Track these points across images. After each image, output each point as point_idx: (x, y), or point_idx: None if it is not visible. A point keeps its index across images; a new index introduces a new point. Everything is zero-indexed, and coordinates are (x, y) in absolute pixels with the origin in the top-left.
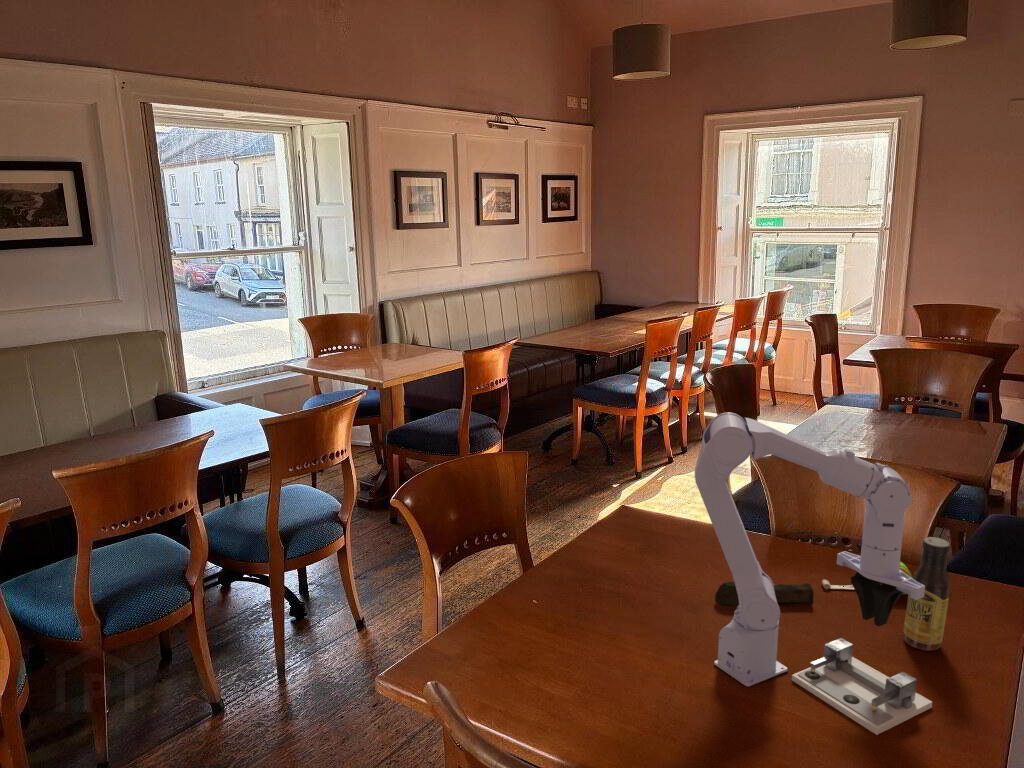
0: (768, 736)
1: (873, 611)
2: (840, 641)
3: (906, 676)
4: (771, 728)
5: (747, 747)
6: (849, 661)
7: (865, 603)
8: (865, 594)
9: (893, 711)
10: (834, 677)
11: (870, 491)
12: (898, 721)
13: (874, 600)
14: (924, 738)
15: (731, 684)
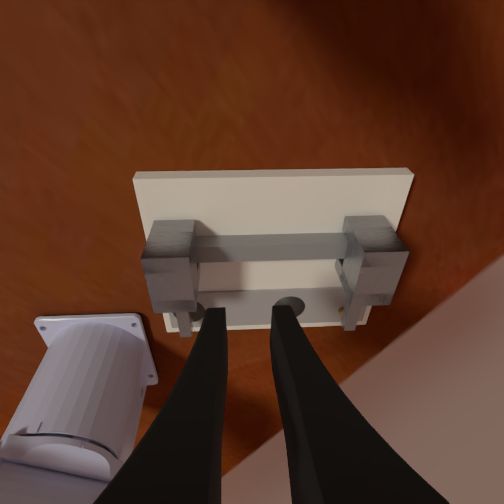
0: (263, 405)
1: (225, 339)
2: (158, 274)
3: (382, 262)
4: (254, 397)
5: (264, 425)
6: (194, 233)
7: (222, 430)
8: (220, 493)
9: None
10: (214, 280)
11: None
12: None
13: (218, 387)
14: (428, 263)
15: None
